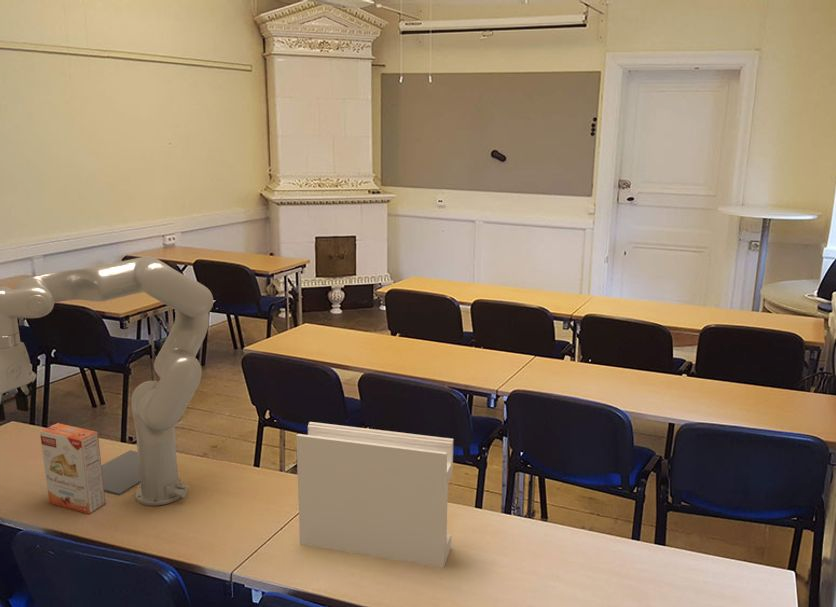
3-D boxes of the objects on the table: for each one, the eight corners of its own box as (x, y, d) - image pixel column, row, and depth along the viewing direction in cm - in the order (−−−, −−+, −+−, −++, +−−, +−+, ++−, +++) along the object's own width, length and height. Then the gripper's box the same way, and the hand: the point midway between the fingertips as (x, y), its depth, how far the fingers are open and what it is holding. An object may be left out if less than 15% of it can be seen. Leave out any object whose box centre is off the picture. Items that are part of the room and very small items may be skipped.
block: (300, 544, 171) (296, 435, 165) (313, 526, 179) (310, 421, 172) (443, 567, 163) (445, 454, 156) (450, 548, 170) (453, 438, 164)
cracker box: (47, 504, 188) (38, 430, 183) (66, 493, 193) (57, 421, 188) (88, 515, 183) (79, 439, 178) (106, 504, 188) (98, 430, 183)
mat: (174, 462, 211) (174, 460, 211) (119, 495, 192) (119, 493, 192) (130, 451, 218) (130, 450, 218) (73, 482, 199) (72, 480, 199)
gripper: (-24, 353, 155) (-12, 431, 159) (45, 333, 170) (54, 404, 175) (-47, 349, 158) (-35, 425, 162) (22, 329, 173) (32, 400, 177)
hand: (11, 414), depth 168 cm, fingers open, 5 cm apart
